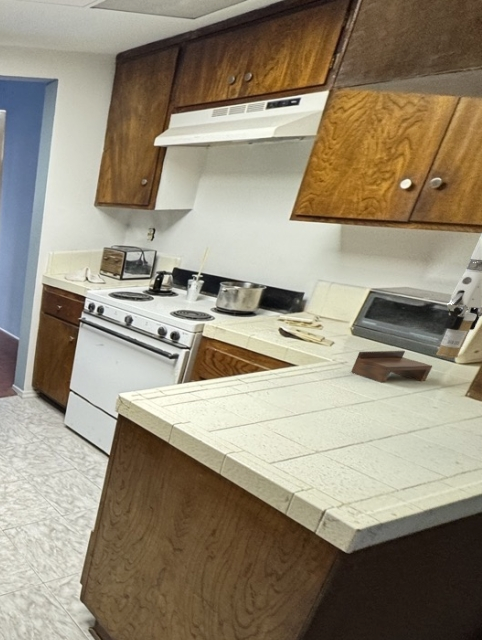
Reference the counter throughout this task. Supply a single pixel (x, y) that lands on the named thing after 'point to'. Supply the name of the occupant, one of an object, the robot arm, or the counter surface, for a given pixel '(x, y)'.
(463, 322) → the sprinkles bottle
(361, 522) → the counter surface
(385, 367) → the shelf
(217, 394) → the counter surface
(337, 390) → the counter surface
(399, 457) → the counter surface
